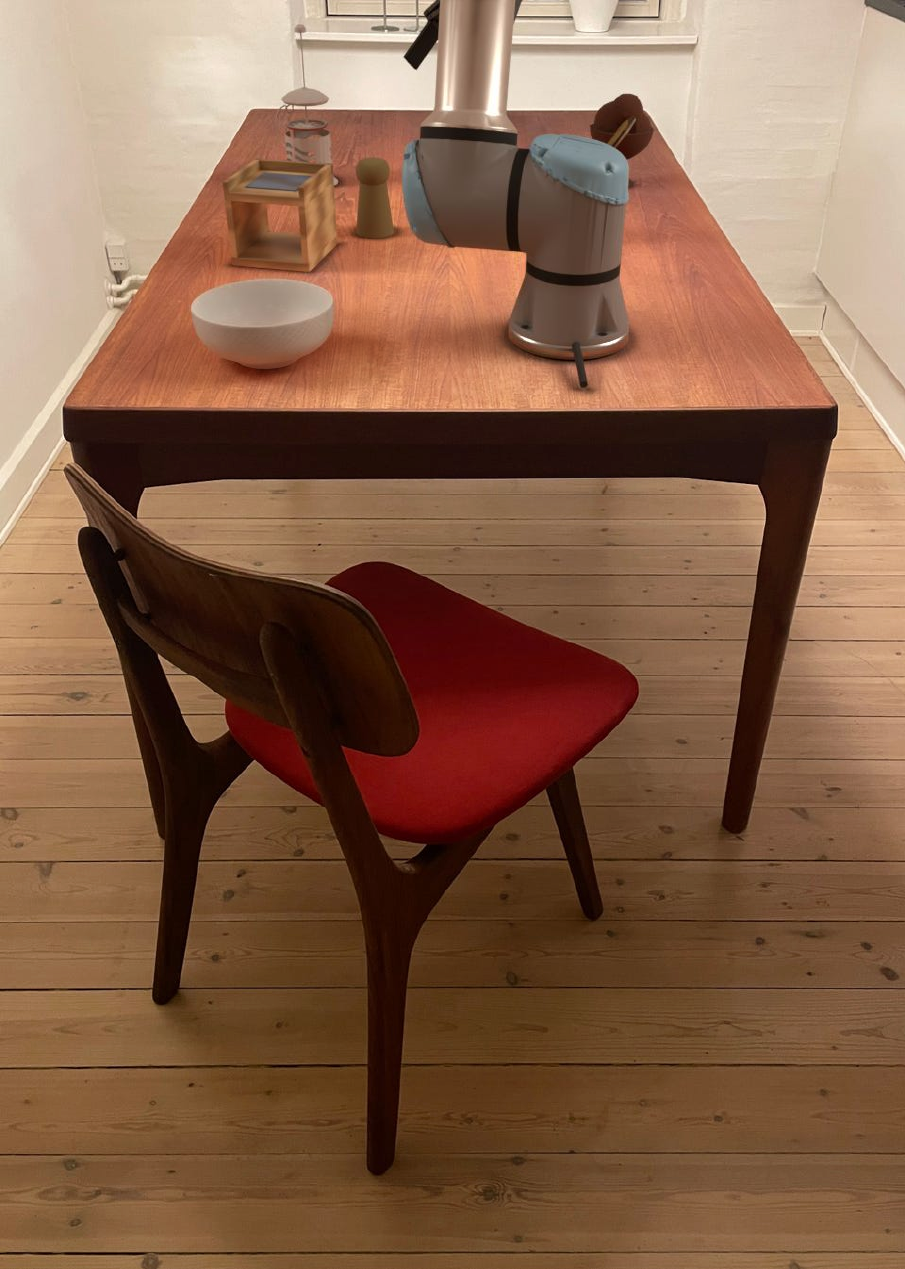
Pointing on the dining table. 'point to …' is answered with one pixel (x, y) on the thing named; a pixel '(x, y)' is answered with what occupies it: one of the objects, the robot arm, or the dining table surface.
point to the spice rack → (281, 187)
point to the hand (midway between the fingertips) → (432, 71)
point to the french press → (306, 124)
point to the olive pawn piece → (373, 199)
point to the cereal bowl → (264, 321)
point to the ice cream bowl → (614, 117)
